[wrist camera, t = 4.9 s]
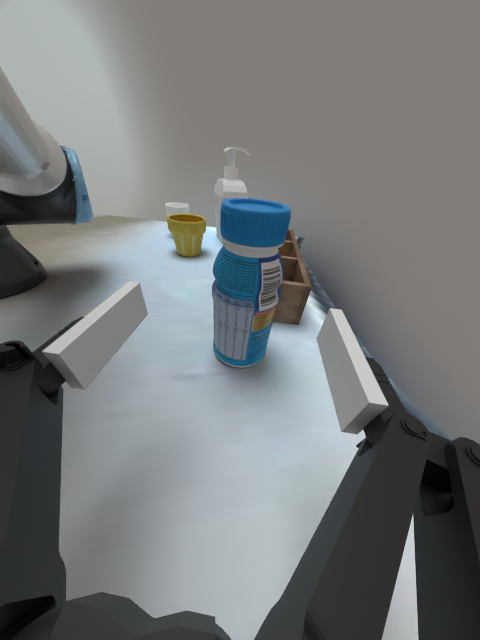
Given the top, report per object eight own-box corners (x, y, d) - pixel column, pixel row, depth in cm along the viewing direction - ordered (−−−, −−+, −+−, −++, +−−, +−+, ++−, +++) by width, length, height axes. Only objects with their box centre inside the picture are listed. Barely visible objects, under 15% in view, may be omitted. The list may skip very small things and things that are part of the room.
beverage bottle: (208, 368, 27) (204, 207, 15) (215, 328, 34) (216, 193, 21) (268, 372, 28) (313, 217, 15) (263, 332, 34) (292, 200, 22)
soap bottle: (248, 245, 69) (259, 149, 53) (221, 245, 67) (223, 144, 50) (238, 234, 78) (245, 149, 62) (213, 234, 75) (213, 145, 59)
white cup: (187, 240, 68) (185, 208, 61) (165, 238, 68) (160, 205, 62) (194, 234, 74) (192, 204, 68) (173, 232, 74) (169, 201, 68)
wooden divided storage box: (233, 315, 37) (236, 277, 32) (249, 251, 65) (252, 225, 60) (300, 324, 37) (313, 287, 32) (287, 255, 64) (293, 230, 59)
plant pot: (210, 249, 63) (210, 215, 57) (200, 261, 55) (198, 224, 49) (180, 244, 64) (176, 211, 58) (165, 256, 56) (159, 218, 50)
